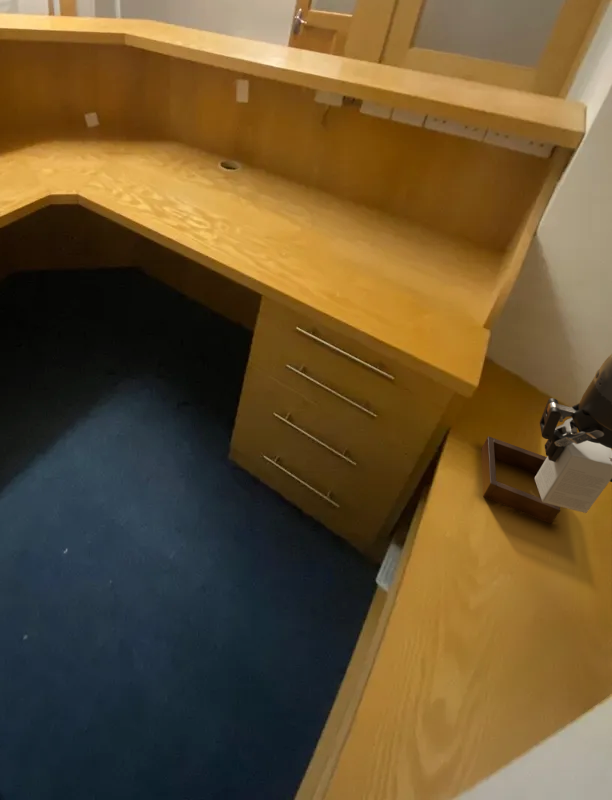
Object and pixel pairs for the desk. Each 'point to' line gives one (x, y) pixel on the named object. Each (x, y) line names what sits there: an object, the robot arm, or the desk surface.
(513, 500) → the box
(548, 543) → the desk surface
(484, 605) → the desk surface
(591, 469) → the cosmetic box
